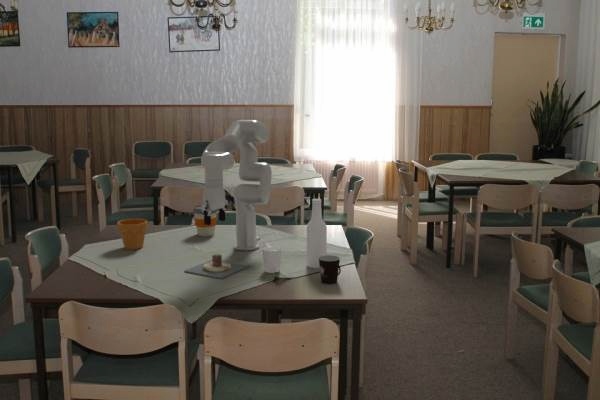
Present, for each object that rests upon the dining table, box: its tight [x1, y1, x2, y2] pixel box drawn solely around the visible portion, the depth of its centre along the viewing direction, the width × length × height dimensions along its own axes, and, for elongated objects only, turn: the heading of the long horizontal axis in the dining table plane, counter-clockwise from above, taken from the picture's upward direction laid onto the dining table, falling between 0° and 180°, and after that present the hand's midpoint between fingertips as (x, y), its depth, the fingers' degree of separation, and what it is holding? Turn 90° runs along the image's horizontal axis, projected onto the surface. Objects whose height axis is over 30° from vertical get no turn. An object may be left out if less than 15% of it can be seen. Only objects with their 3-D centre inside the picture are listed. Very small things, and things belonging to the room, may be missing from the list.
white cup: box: [262, 245, 282, 274], centre depth 267 cm, size 8×8×10 cm
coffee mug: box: [319, 254, 342, 285], centre depth 251 cm, size 12×9×10 cm
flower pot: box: [116, 218, 148, 250], centre depth 307 cm, size 14×14×13 cm
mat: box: [183, 259, 250, 280], centre depth 271 cm, size 20×20×1 cm
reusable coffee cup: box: [192, 204, 218, 237], centre depth 332 cm, size 13×13×15 cm
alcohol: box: [306, 198, 328, 270], centre depth 272 cm, size 9×9×30 cm
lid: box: [203, 254, 231, 272], centre depth 270 cm, size 12×12×6 cm
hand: (214, 222), depth 267 cm, fingers open, 9 cm apart
